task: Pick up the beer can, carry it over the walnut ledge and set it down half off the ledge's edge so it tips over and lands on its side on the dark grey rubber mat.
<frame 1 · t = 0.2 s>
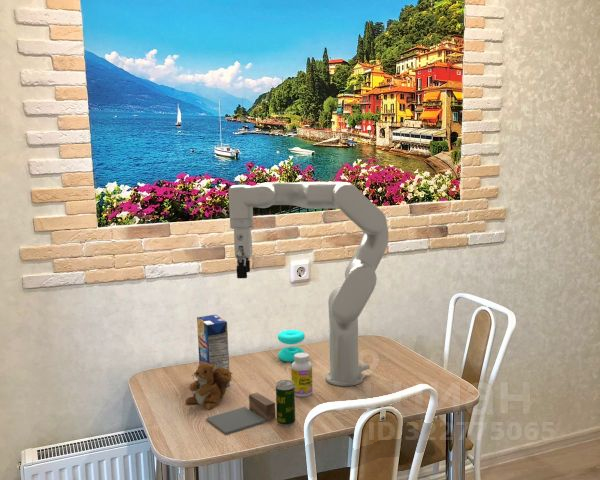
hand: (243, 275, 210), 37 cm above the table, tool pointing down, fingers open, 9 cm apart
beverage box: (214, 383, 216), on the table
rubber mat: (235, 421, 186), on the table
supplement bottle: (302, 394, 205), on the table
walnut ledge: (262, 413, 191), on the table
stuffed squirrel: (210, 401, 201), on the table
beer can: (286, 423, 184), on the table
donuts: (291, 358, 238), on the table
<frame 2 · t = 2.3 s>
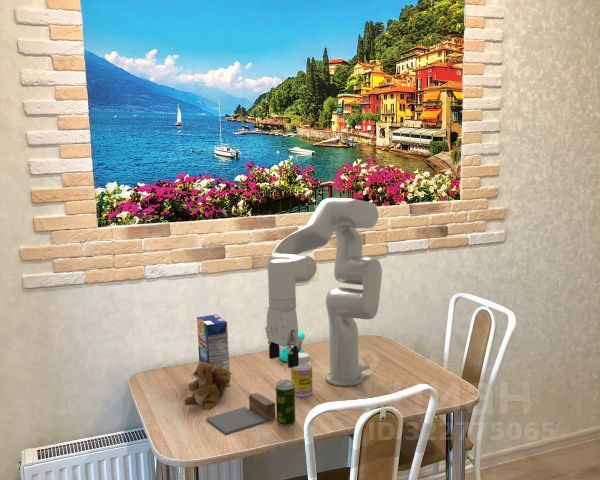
hand: (283, 362, 181), 18 cm above the table, tool pointing down, fingers open, 9 cm apart
nothing on the table moved.
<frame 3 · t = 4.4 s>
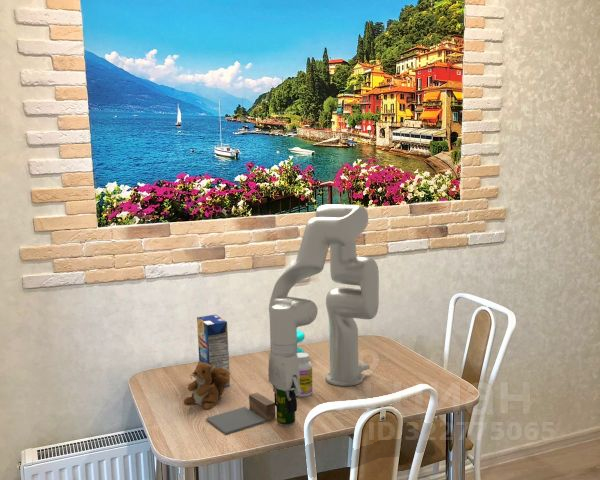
hand: (285, 408, 183), 4 cm above the table, tool pointing down, fingers closed on beer can, 5 cm apart
beer can: (286, 423, 184), on the table, touching gripper
everything else where it was.
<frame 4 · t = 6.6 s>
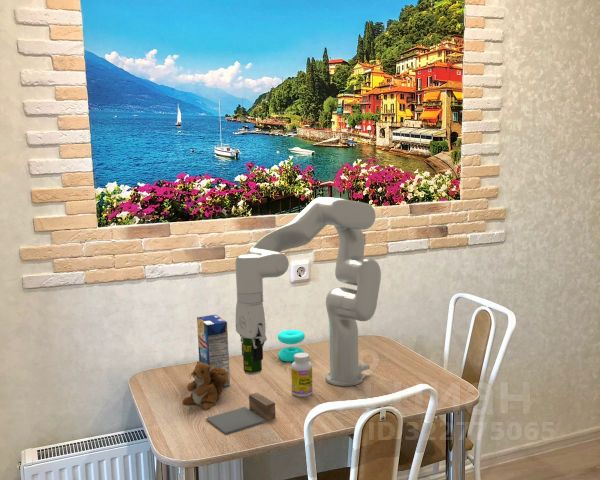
hand: (252, 357, 187), 18 cm above the table, tool pointing down, fingers closed on beer can, 5 cm apart
beer can: (252, 372, 187), point 13 cm above the table, touching gripper
everything else where it was.
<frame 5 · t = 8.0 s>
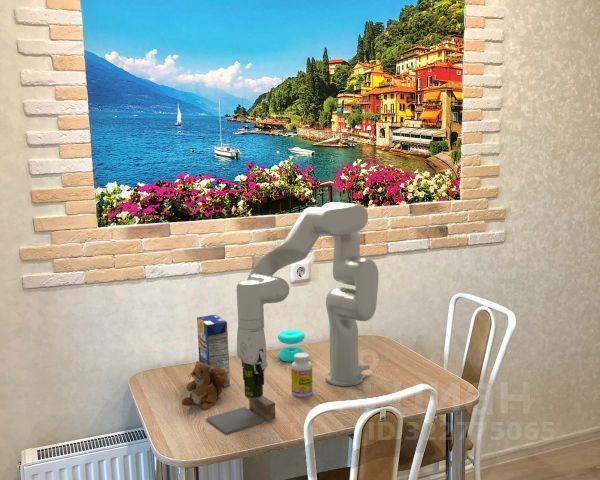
hand: (253, 381, 188), 10 cm above the table, tool pointing down, fingers closed on beer can, 5 cm apart
beer can: (254, 397, 189), point 6 cm above the table, touching gripper
when the fingers open (10 cm above the table, at t = 8.7 s): beer can drops 2 cm, resting on rubber mat.
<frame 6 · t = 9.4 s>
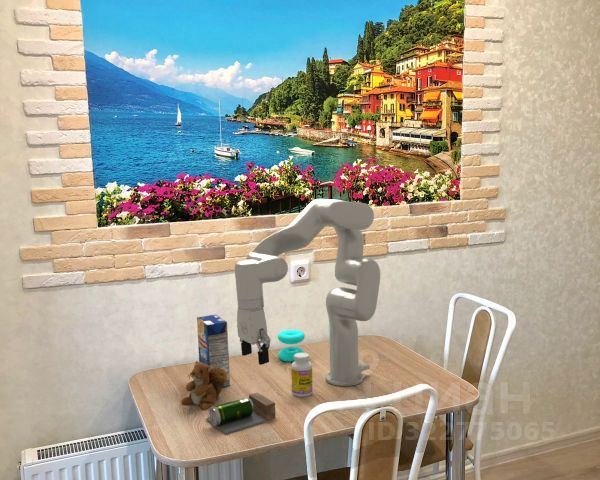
hand: (255, 358, 188), 17 cm above the table, tool pointing down, fingers open, 9 cm apart
beer can: (250, 406, 188), point 3 cm above the table, touching rubber mat
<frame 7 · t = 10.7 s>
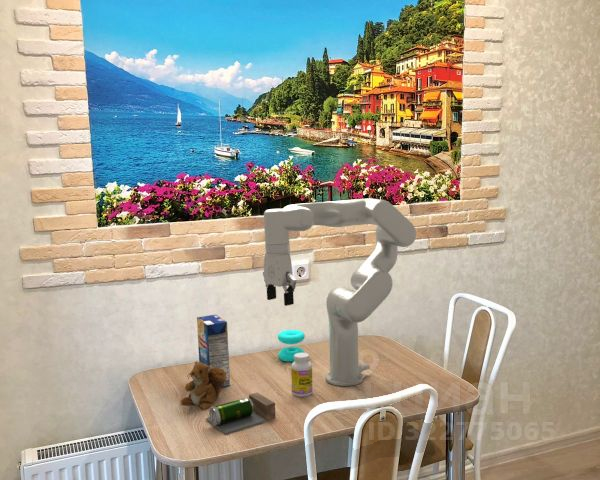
hand: (280, 301, 202), 30 cm above the table, tool pointing down, fingers open, 9 cm apart
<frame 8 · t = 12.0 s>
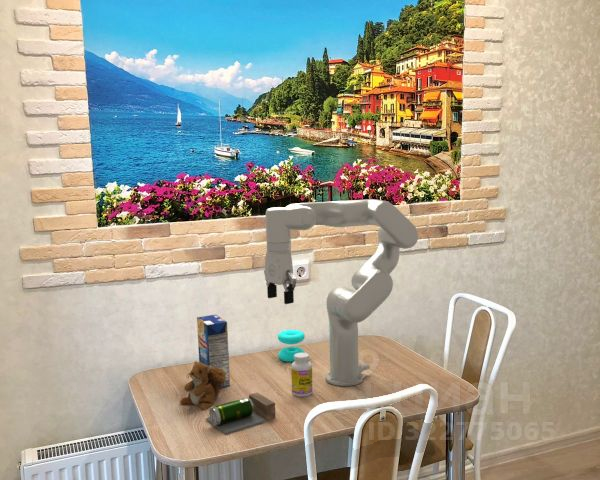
hand: (280, 300, 202), 30 cm above the table, tool pointing down, fingers open, 9 cm apart
at the end: beer can tilted 90°; beer can inside the target area (6.1 cm from its centre), point 3.3 cm above the table; the gripper is holding nothing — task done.
